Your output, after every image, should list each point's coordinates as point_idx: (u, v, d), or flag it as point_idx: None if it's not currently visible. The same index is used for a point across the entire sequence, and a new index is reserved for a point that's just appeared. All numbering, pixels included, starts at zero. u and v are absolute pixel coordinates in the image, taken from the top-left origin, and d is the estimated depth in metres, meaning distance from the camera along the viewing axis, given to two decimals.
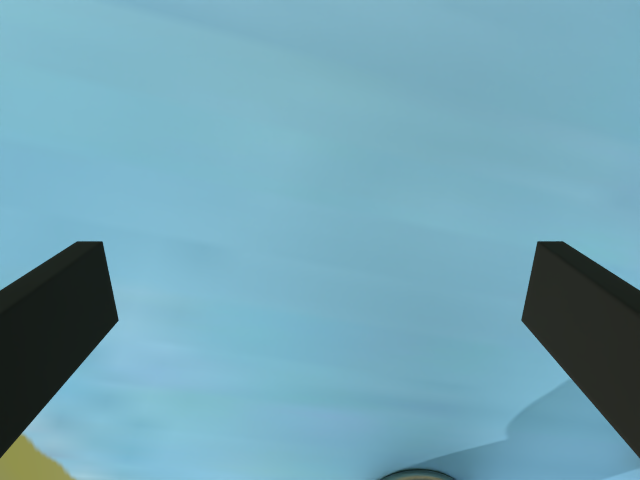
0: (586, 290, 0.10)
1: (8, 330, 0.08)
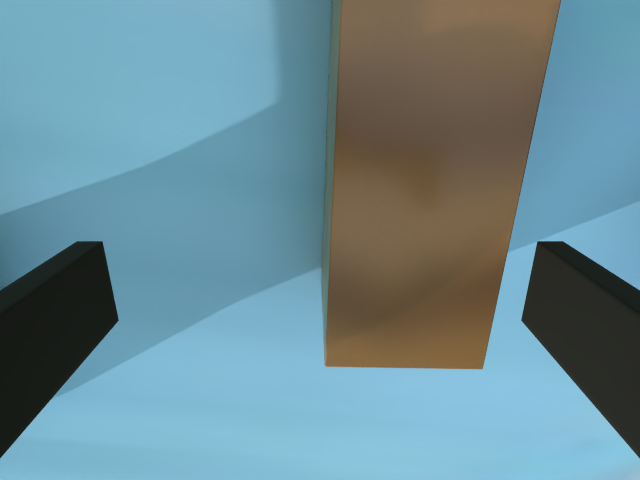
0: (586, 290, 0.10)
1: (8, 330, 0.08)
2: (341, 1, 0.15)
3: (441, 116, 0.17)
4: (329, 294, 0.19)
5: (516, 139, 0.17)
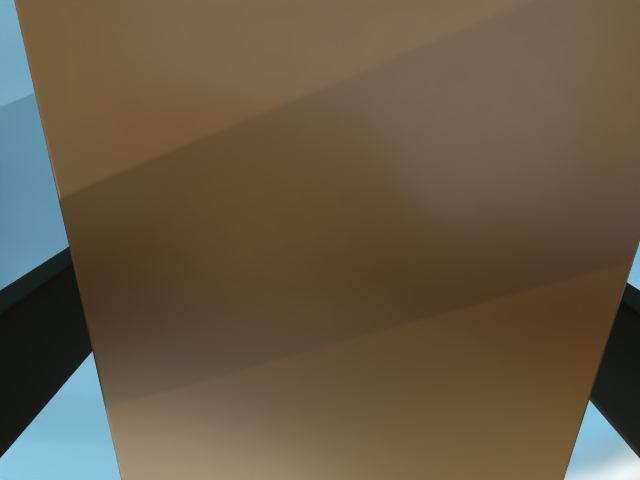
0: None
1: (8, 330, 0.08)
2: None
3: None
4: (87, 318, 0.06)
5: None
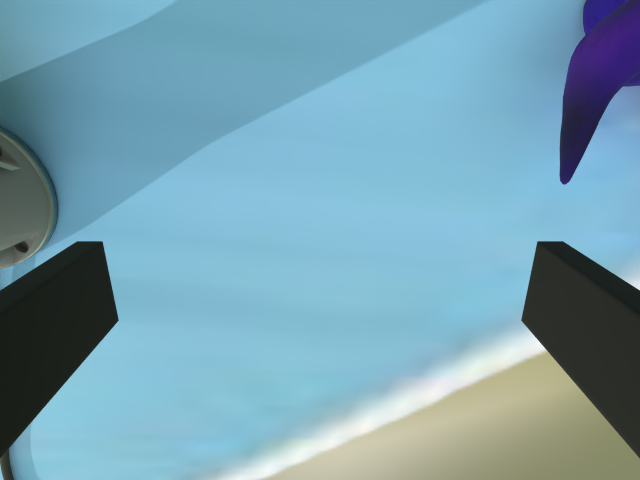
0: (586, 290, 0.10)
1: (8, 330, 0.08)
2: None
3: None
4: None
5: None
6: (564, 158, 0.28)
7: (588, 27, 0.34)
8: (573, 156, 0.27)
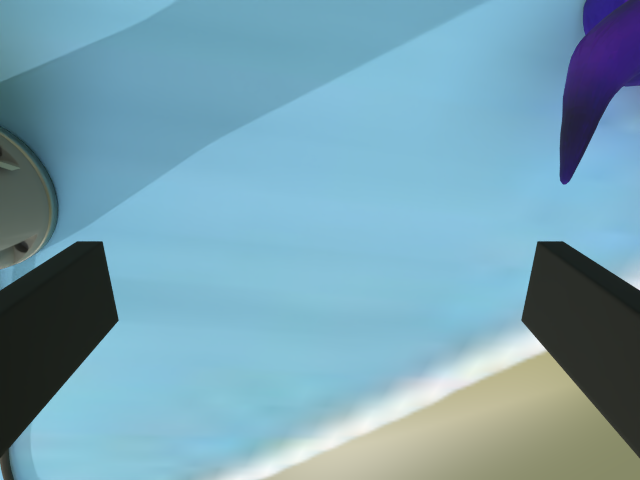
0: (586, 290, 0.10)
1: (8, 330, 0.08)
2: None
3: None
4: None
5: None
6: (564, 158, 0.28)
7: (588, 27, 0.34)
8: (573, 156, 0.27)
